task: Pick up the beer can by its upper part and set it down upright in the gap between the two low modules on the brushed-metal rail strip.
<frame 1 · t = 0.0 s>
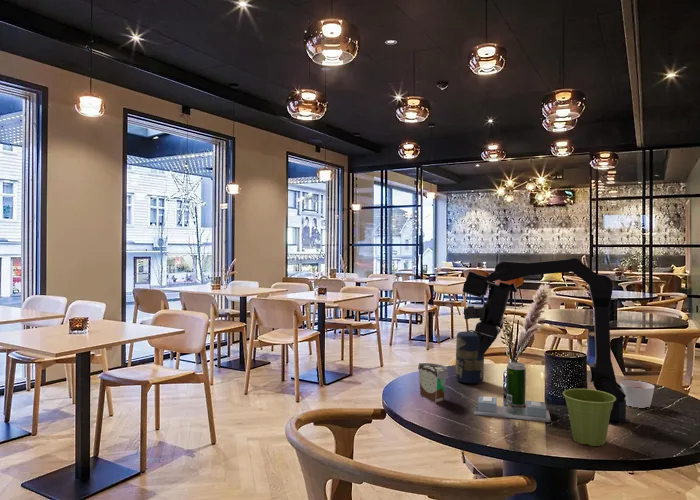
hand: (482, 352, 153), 15 cm above the table, tool pointing down, fingers open, 9 cm apart
canister: (469, 382, 179), on the table
module 2: (535, 416, 143), resting on rail
rail: (511, 414, 144), on the table
candle: (636, 406, 154), on the table
food container: (436, 399, 158), on the table
module 1: (487, 411, 146), resting on rail
plant pot: (588, 441, 125), on the table
beer can: (515, 405, 154), on the table
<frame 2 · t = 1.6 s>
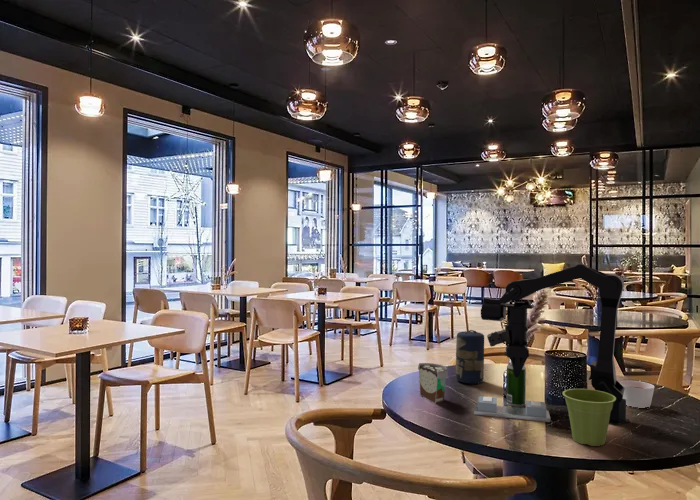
hand: (516, 374, 153), 9 cm above the table, tool pointing down, fingers closed on beer can, 5 cm apart
beer can: (515, 405, 154), on the table, touching gripper
everything else where it was.
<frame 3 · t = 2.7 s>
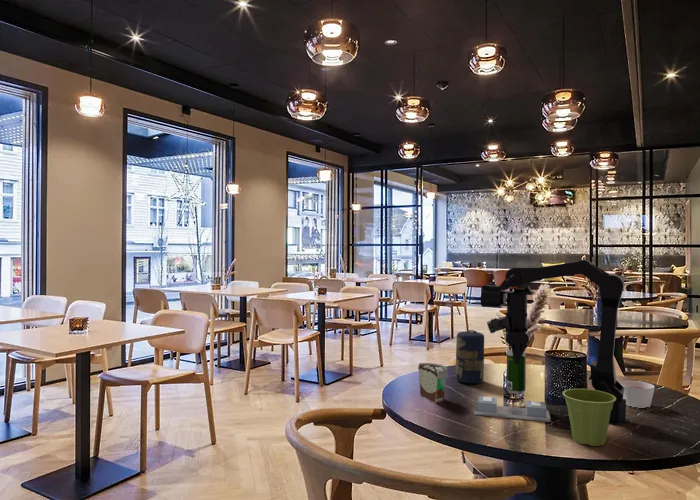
hand: (516, 361, 153), 13 cm above the table, tool pointing down, fingers closed on beer can, 5 cm apart
beer can: (515, 392, 153), point 4 cm above the table, touching gripper
everything else where it was.
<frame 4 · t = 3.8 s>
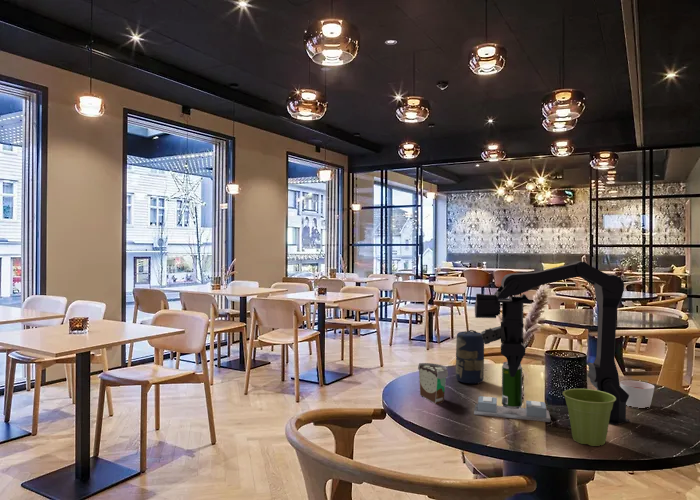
hand: (512, 374, 144), 11 cm above the table, tool pointing down, fingers closed on beer can, 5 cm apart
beer can: (511, 406, 144), point 2 cm above the table, touching gripper
everything else where it was.
when the fingers open (11 cm above the table, at t = 4.2 s): beer can stays where it is, resting on rail.
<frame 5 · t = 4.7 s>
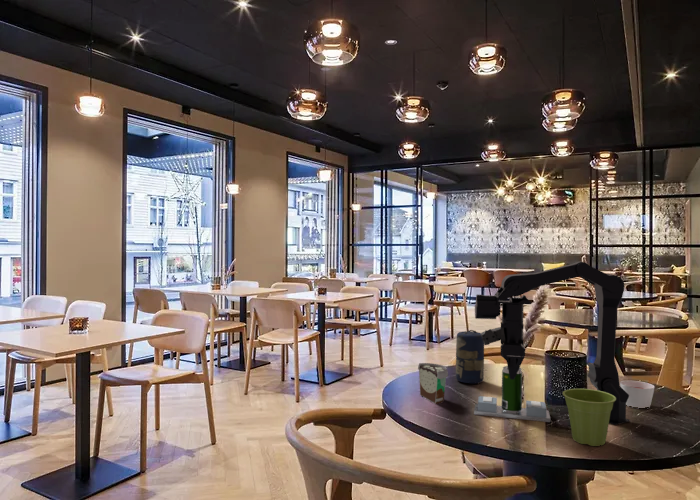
hand: (511, 375, 144), 11 cm above the table, tool pointing down, fingers open, 9 cm apart
beer can: (511, 411, 144), point 1 cm above the table, touching rail
everything else where it was.
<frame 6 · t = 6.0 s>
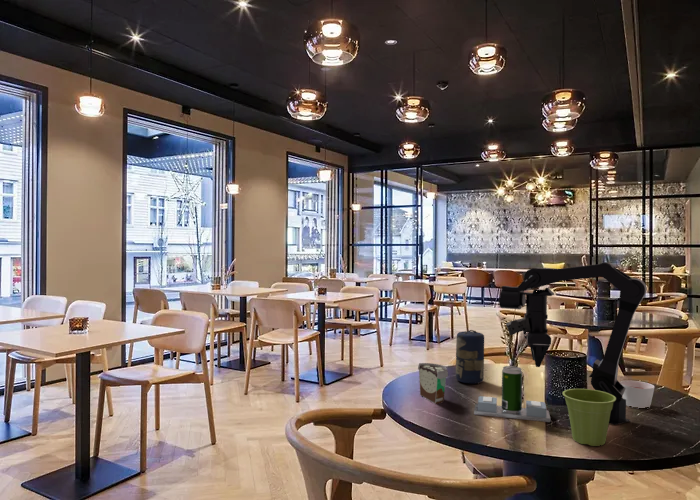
hand: (536, 363, 151), 13 cm above the table, tool pointing down, fingers open, 9 cm apart
nothing on the table moved.
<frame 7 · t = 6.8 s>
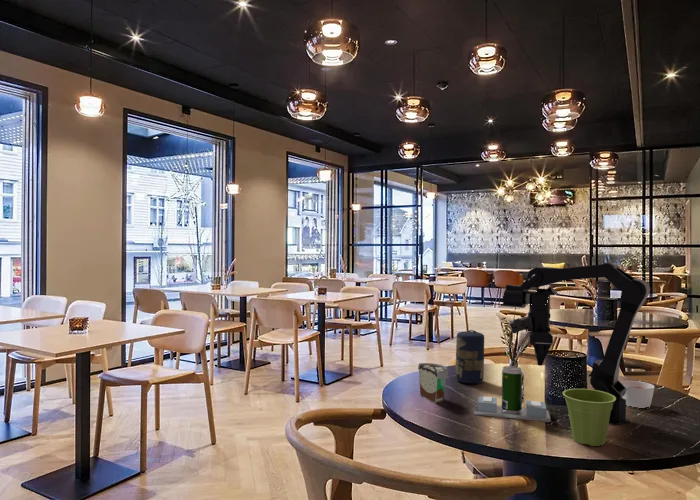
hand: (538, 361, 152), 13 cm above the table, tool pointing down, fingers open, 9 cm apart
nothing on the table moved.
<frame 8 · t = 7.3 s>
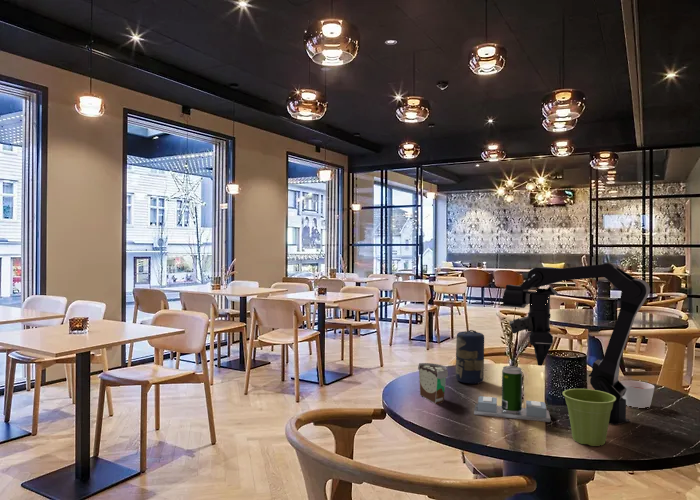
hand: (538, 361, 152), 13 cm above the table, tool pointing down, fingers open, 9 cm apart
nothing on the table moved.
at the end: beer can 0.1 cm from the rail (horizontally); beer can tilted 0°; beer can point 0.8 cm above the table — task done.
